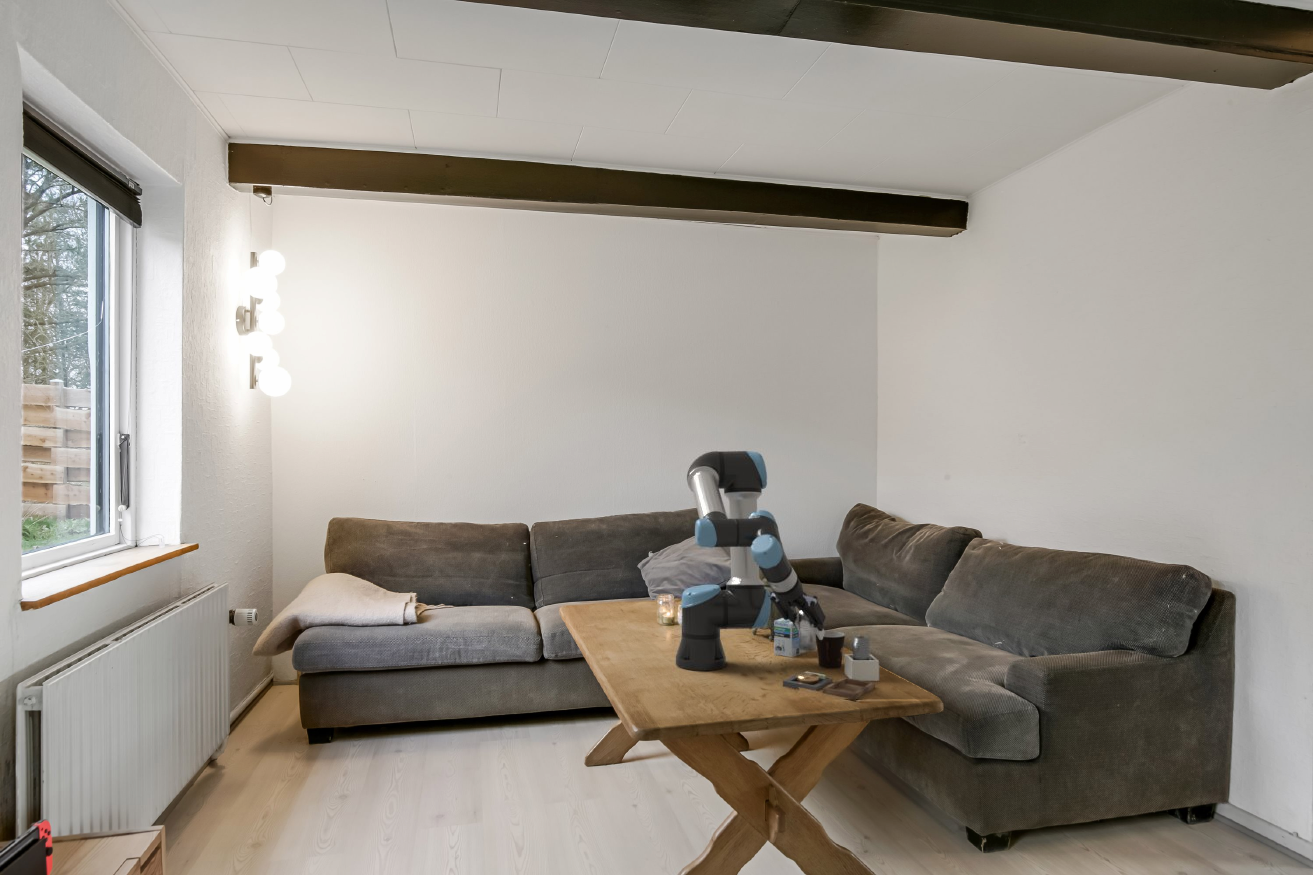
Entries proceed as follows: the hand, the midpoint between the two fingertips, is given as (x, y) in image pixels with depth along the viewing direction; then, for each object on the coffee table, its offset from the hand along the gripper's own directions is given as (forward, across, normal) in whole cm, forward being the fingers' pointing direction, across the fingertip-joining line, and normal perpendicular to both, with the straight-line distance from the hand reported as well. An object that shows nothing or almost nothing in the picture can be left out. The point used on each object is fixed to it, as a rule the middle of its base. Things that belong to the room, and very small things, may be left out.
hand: (813, 634), depth 221 cm
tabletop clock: (+38, -38, +19) cm, 57 cm away
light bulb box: (+27, -21, +8) cm, 36 cm away
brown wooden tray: (+7, +12, -11) cm, 18 cm away
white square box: (+17, +9, -1) cm, 20 cm away
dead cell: (+17, +9, -1) cm, 19 cm away
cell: (0, 0, -5) cm, 5 cm away
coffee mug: (+20, -4, +1) cm, 21 cm away
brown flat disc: (+6, 0, -11) cm, 13 cm away
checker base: (+7, 0, -12) cm, 14 cm away
